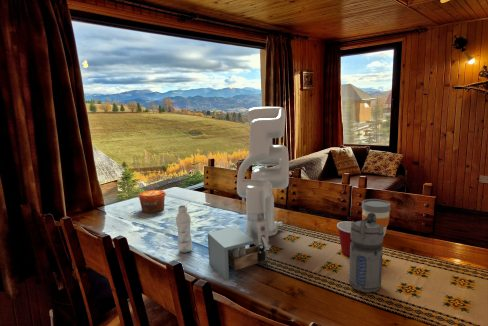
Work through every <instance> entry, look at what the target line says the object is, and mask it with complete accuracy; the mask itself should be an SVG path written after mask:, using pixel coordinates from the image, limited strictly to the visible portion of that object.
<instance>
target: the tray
mask: <svg viewBox="0 0 488 326" xmlns="http://www.w3.org/2000/svg"><path fill="white" fill-rule="evenodd" d="M261 248H263V247H262V246H260V249H261ZM266 261H267V251H266V252H265V261H263V262H266ZM263 262H262V263H263ZM257 264H261V262H258V247H257V245H256V246H253V247H249V246H248V247H246V246H242V247H238V248H234V249H232V252H231V253H228V266H230V267H231V268H232V269H233V270H234V271H238V270H241V269H244V268H247V267H250V266H253V265H257Z"/></svg>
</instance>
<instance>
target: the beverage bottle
mask: <svg viewBox="0 0 488 326" xmlns="http://www.w3.org/2000/svg"><path fill="white" fill-rule="evenodd" d="M366 220H367V221H366ZM350 222H351V240H352V242H351V243H350V256H349V271H348V272H349V273H348V275H349V277H348V278H349V279H348V281H349V284H350V286H351V287H352V288H353V289H355V290H357V291H358V292H362V293H374V292H377V291H379V289H380V288H381V286H382V270H383V269H382V267H383V249H384V248H383V246H382V244H383V242H384V237H385V236H384V232H383V226H381V225H380V224H378V223H376V215H375V214H374V213H369V214H368V215H367V218H365V220H363V219H361V220H357V221H354V219H353V220H352V221H350ZM353 222H354V223H353Z"/></svg>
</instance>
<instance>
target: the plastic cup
mask: <svg viewBox="0 0 488 326" xmlns="http://www.w3.org/2000/svg"><path fill="white" fill-rule="evenodd" d="M351 222H352V221H345V220H344V221H340V222H337V223H336V227H337V230H338V235H339V243H340V244H339V245H340V248H341V249H340V250H341V253H342V255H344V256H345V257H346V256H347V257H350V243H351V242H352V240H351ZM354 222H355V221H353V223H354Z"/></svg>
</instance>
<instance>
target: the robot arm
mask: <svg viewBox="0 0 488 326" xmlns="http://www.w3.org/2000/svg"><path fill="white" fill-rule="evenodd" d="M246 115H247V116H246V117H247V120H248V124H249V137H248V139H249V140H248V155H247V156H246V157H245V158H244V160H243V161H242V162H241V164H240V166H239V167H238V171H237V177H236V179H237V181H236V192H237V195H238V196H239V197H240V198H245V208H246V214H245V215H246V233H245V234H246V235H248V236H249V237H250V238H252V239H253V240H254V244H250V245H248V248H249V247H253V246H256V245H257V247H258V262H260V263H263V261H264V262H266V261H265V252H266V253H267V251H268V248H269V245H268V244H269V237H273V236H275V235H277V233H278V227H280V226H283V221H277V220H275V201H274V200H275V198H274V194H273V193H272V192H273V189H276V190H277V189H286V188H287V187H288V186H289V182H290V172H289V171H290V170H289V169H290V168H289V167H290V166H289V164H290V163H289V162H290V161H289V160H290V159H289V158H290V156H289V150H288V147H287V146H285V145H283V144H273V139H281V138H283V136H284V134H285V129H286V128H285V127H286V117H287V116H286V110H285V108H284V107H281V106H257V107H252V108H249V109H248V110H247V114H246ZM254 164H256V165H260V166H277V167H278V168H275V167H274V168H273V167H270V168H269V167H260V168H256V169H254V170H253V171H252V172H251V174H250V175H251V178H248V179H245V176H246V175H245V174H246V172H247V170H248V169H249V168H250V167H251V166H252V165H254ZM260 246H261V247H262V248H261V249H260Z"/></svg>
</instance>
